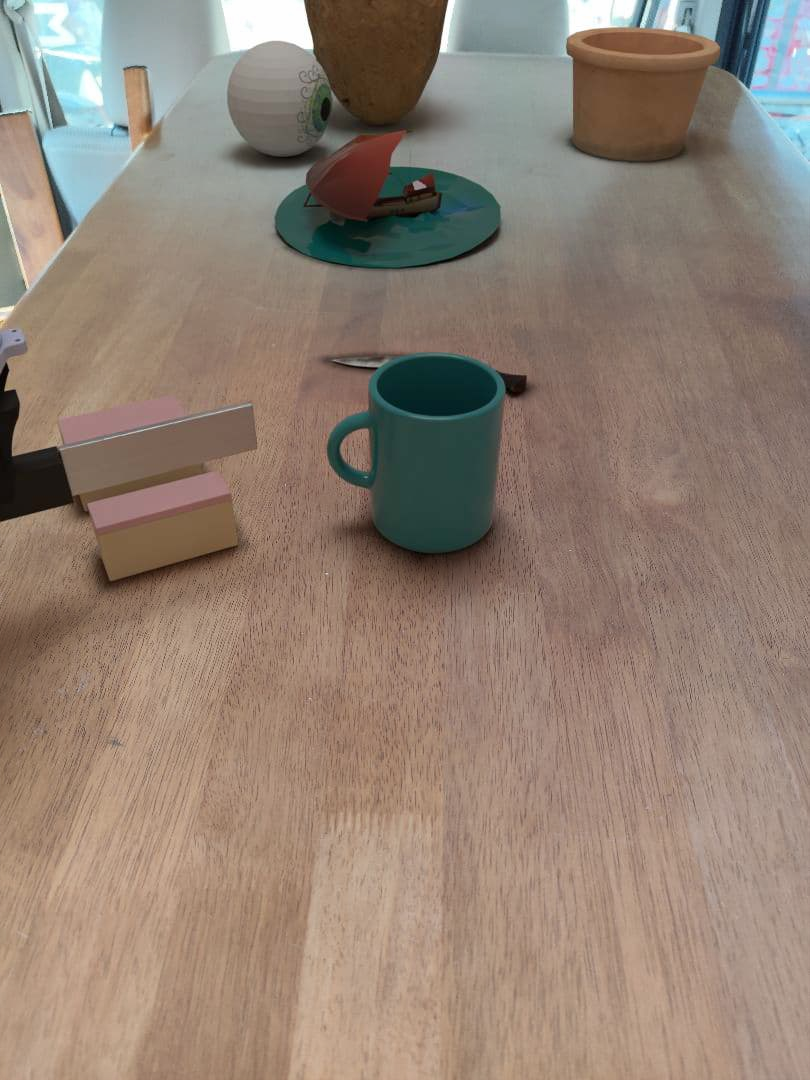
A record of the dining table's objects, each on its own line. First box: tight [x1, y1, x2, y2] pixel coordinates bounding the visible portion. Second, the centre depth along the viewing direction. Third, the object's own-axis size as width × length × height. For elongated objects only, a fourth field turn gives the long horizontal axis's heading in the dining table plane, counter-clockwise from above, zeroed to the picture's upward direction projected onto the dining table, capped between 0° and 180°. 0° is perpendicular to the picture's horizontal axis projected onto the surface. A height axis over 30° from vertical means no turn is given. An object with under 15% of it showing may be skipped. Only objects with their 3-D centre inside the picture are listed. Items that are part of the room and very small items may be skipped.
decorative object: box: [226, 40, 333, 158], centre depth 129 cm, size 15×15×15 cm
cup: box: [326, 351, 507, 554], centre depth 63 cm, size 9×12×11 cm
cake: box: [56, 394, 203, 512], centre depth 69 cm, size 9×6×5 cm, turn 116°
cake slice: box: [87, 469, 239, 582], centre depth 62 cm, size 9×3×5 cm, turn 116°
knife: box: [331, 355, 528, 394], centre depth 83 cm, size 18×1×5 cm
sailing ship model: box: [274, 129, 502, 269], centre depth 109 cm, size 28×28×11 cm
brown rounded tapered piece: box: [303, 0, 449, 126], centre depth 139 cm, size 22×22×25 cm
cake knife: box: [0, 401, 258, 523], centre depth 55 cm, size 20×2×3 cm, turn 117°
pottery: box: [565, 26, 721, 162], centre depth 135 cm, size 22×22×14 cm
